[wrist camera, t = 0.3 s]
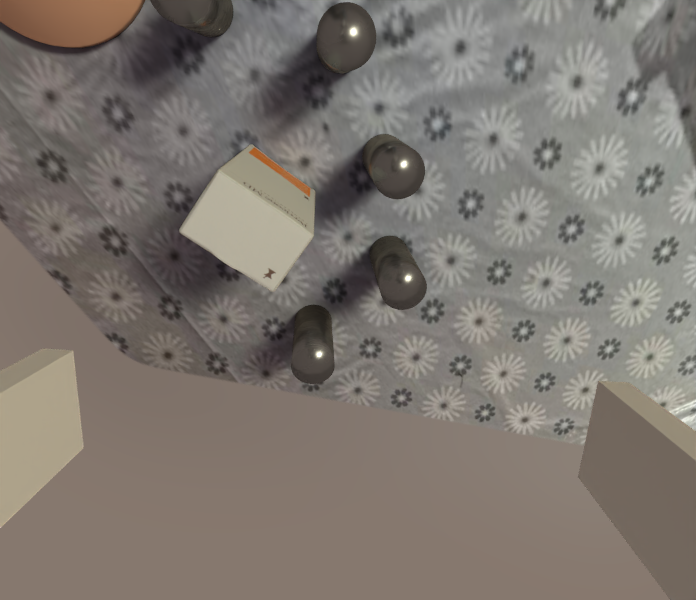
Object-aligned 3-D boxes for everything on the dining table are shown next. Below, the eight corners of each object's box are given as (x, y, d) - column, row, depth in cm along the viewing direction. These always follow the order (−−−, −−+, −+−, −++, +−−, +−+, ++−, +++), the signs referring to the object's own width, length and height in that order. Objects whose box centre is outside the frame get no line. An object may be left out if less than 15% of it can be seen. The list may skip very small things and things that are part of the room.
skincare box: (317, 189, 35) (318, 237, 24) (286, 232, 36) (273, 296, 25) (249, 139, 33) (217, 167, 22) (219, 187, 34) (174, 235, 23)
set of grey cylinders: (236, -94, 27) (211, -149, 21) (495, 166, 35) (534, 185, 28) (73, 179, 33) (16, 201, 27) (324, 348, 41) (326, 397, 35)
